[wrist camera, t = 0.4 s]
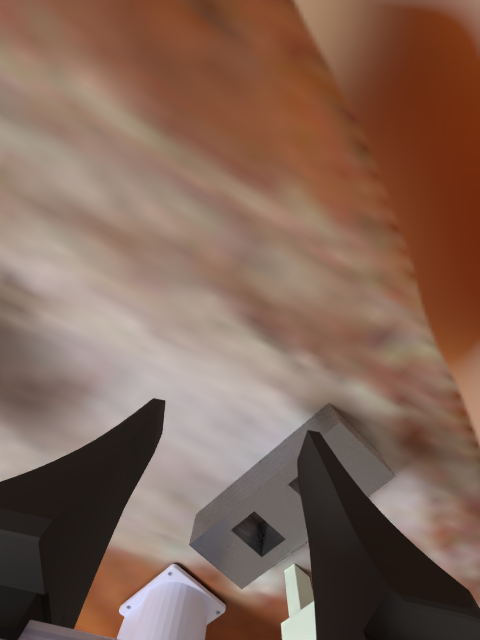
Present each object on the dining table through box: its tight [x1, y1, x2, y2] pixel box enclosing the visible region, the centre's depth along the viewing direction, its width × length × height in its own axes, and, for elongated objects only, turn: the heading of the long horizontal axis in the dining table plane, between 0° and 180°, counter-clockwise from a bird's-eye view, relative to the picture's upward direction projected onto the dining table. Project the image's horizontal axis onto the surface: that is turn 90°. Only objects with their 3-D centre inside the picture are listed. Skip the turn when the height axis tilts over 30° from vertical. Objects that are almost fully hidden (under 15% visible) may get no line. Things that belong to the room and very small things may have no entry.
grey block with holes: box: [189, 403, 395, 589], centre depth 24 cm, size 18×7×3 cm, turn 135°
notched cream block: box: [281, 564, 316, 640], centre depth 23 cm, size 10×3×6 cm, turn 135°
